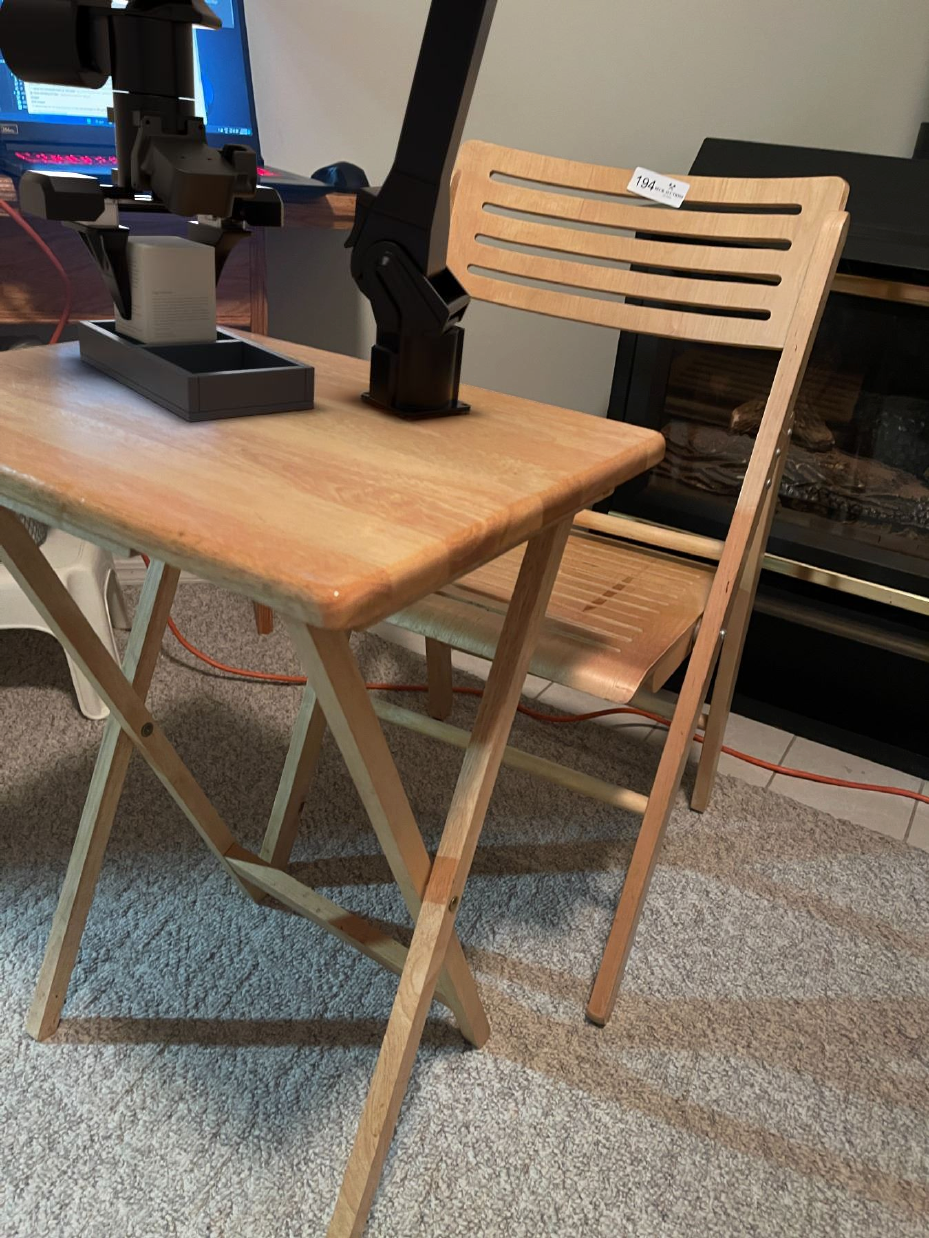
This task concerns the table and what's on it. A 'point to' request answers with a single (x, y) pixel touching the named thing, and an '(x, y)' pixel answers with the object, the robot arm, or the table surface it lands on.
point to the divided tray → (200, 373)
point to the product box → (170, 291)
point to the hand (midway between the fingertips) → (164, 318)
